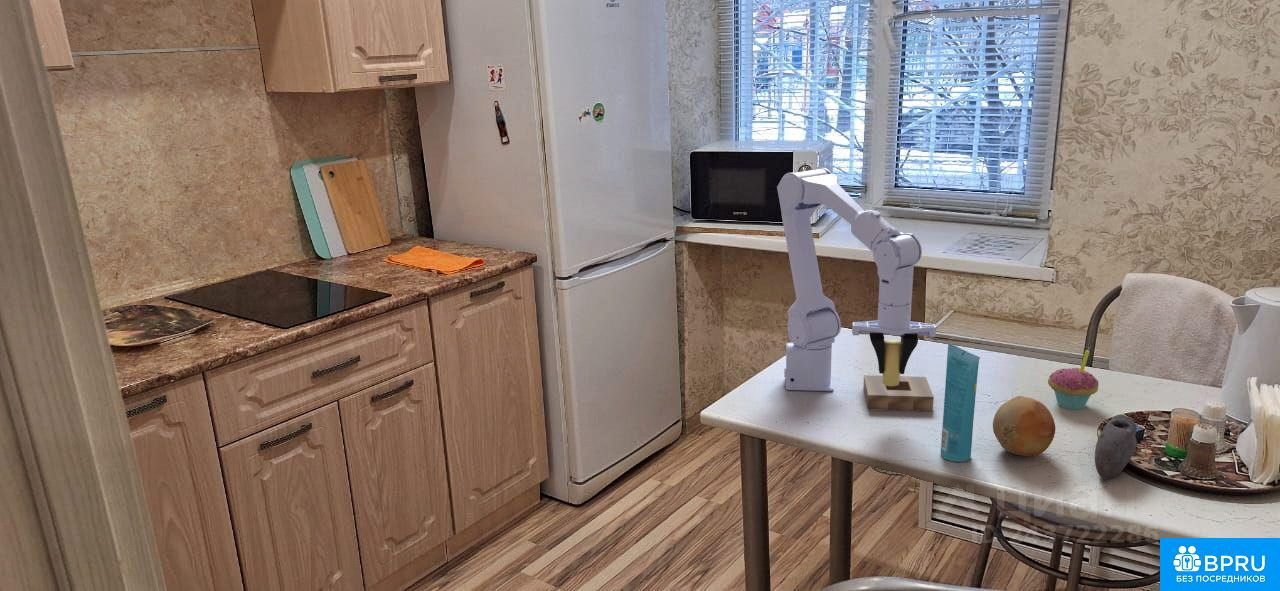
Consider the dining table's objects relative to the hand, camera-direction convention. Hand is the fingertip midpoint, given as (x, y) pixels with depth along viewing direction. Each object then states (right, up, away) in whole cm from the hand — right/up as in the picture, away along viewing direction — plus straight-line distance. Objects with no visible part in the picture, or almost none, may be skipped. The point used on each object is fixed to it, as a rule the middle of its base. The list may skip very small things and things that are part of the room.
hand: (891, 371), depth 161 cm
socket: (+4, -6, +10) cm, 13 cm away
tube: (+7, -13, -12) cm, 20 cm away
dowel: (0, -2, +1) cm, 2 cm away
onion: (+19, -13, -12) cm, 26 cm away
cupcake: (+36, -7, +5) cm, 37 cm away
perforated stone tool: (+31, -14, -18) cm, 38 cm away
